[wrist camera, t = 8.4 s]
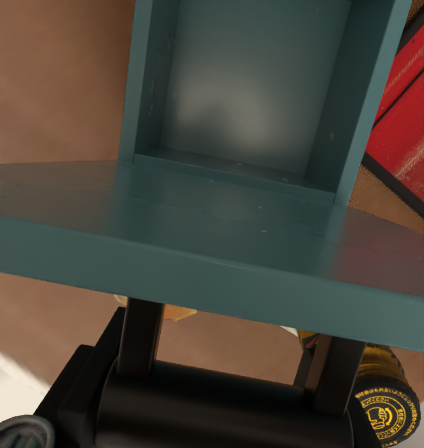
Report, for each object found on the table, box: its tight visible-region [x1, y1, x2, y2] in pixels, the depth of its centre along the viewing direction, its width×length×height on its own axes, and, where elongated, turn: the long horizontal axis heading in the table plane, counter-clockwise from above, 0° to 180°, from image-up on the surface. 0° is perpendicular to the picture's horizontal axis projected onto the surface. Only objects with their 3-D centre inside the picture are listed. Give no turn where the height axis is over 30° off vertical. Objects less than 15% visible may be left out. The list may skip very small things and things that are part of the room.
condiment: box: [281, 326, 421, 448], centre depth 26 cm, size 7×8×12 cm
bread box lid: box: [0, 160, 424, 448], centre depth 12 cm, size 15×14×5 cm
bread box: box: [118, 0, 412, 206], centre depth 22 cm, size 14×14×9 cm
